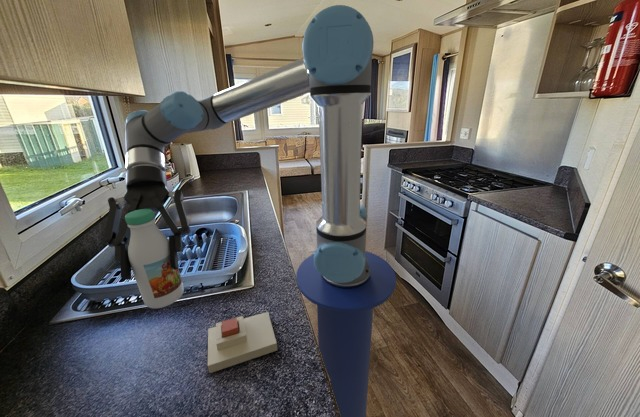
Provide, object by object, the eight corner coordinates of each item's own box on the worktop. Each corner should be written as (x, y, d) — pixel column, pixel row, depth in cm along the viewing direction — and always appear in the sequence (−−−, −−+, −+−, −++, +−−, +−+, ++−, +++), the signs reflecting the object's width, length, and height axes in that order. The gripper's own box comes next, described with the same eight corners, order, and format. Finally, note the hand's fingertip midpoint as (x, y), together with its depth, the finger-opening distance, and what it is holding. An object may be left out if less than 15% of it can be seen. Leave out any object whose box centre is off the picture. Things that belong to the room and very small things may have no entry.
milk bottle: (141, 314, 52) (108, 224, 45) (147, 291, 59) (119, 209, 51) (183, 302, 55) (159, 216, 48) (185, 281, 62) (164, 202, 54)
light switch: (268, 318, 66) (267, 305, 65) (277, 350, 57) (276, 336, 56) (209, 335, 62) (206, 322, 60) (209, 373, 53) (205, 359, 51)
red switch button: (237, 323, 60) (236, 317, 60) (238, 333, 58) (237, 327, 57) (222, 327, 59) (221, 321, 59) (223, 338, 56) (222, 332, 56)
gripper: (198, 176, 65) (210, 265, 57) (100, 187, 59) (97, 289, 51) (193, 159, 59) (204, 256, 51) (81, 169, 52) (74, 283, 44)
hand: (151, 272), depth 51 cm, fingers closed on milk bottle, 8 cm apart
